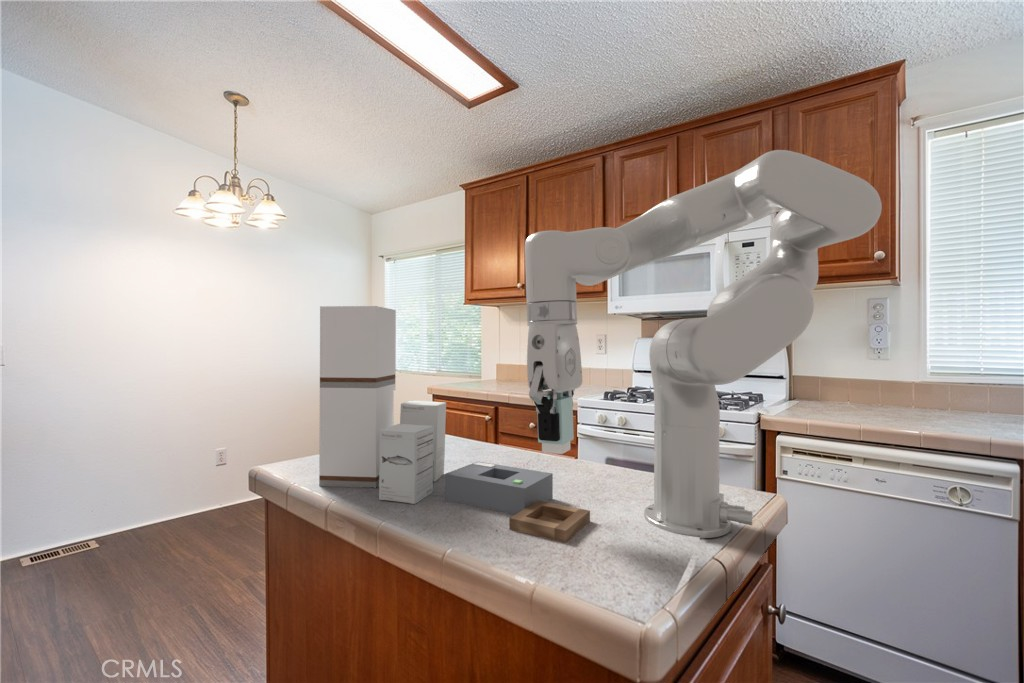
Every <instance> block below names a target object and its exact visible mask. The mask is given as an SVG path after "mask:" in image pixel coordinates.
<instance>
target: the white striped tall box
mask: <svg viewBox="0 0 1024 683" xmlns="http://www.w3.org/2000/svg"><path fill="white" fill-rule="evenodd" d="M396 311H397V310H396V309H393V308H388V307H383V306H377V305H367V306H366V305H355V306H354V305H352V306H351V305H349V306H347V305H341V306H340V305H338V306H337V305H336V306H335V305H334V306H333V305H331V306H330V305H328V306H327V305H326V306H324V305H323V306H319V450H318V452H319V456H318V457H319V465H318V466H319V470H318V471H319V473H318V474H319V476H318V477H319V478H318V479H319V481H318V482H319V487H333V488H337V487H338V488H362V487H374V488H373V489H376V487H377V486H378V485H379V467H380V430H381V429H384V428H387V427H390V426H393V425H394V397H395V396H394V391H396V370H397V369H396V366H397V365H396V359H397V358H396V357H397V356H396V349H397V348H396V339H397V338H396V336H397V333H396V332H397V331H396V326H397V325H396V322H397V319H396V318H397V317H396V316H397V314H396V313H397V312H396ZM378 487H379V486H378ZM378 487H377V488H378Z"/></svg>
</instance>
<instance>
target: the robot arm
mask: <svg viewBox="0 0 1024 683" xmlns="http://www.w3.org/2000/svg"><path fill="white" fill-rule="evenodd" d="M882 205H883V204H882V200H881V196H880V194H879V192H878V191H877V190H876V189H875V187H874V186H873V185H871V183H869V182H868V181H866V180H865V179H863V178H862V177H860V176H858V175H855V174H853V173H851V172H848V171H846V170H844V169H841V168H839V167H836V166H834V165H831V164H829V163H827V162H826V161H825V162H824V161H821V160H820V159H817V158H814V157H812V156H809V155H806V154H803V153H801V152H796V151H791V150H788V149H776V150H775V149H774V150H770V151H767V152H765V153H763V154H762V155H760V156H758V157H756V158H755V159H754V160H752V161H750V162H749V163H747V164H745V165H744V166H742V167H741V168H739V169H737V170H735V171H733V172H732V171H731V172H730V173H728V174H725V175H723V176H720V177H718V178H716V179H713V180H710V181H708V182H705V183H704V184H701V185H698V186H696V187H693V188H691V189H690V188H689V189H688V190H686V191H683V192H680V193H677V194H676V195H673V196H670V197H669V198H667V199H665V200H663V201H661V202H660V203H658V204H656V205H654V206H653V207H651V208H650V209H648V210H647V211H646V212H644V213H642V214H640V215H638V217H636V218H634V219H632V220H630V221H629V222H626V223H624V224H622V225H620V226H618V227H616V228H615V227H610V226H607V227H606V226H602V227H595V228H594V227H593V228H589V229H582V230H575V231H562V230H542V231H537V232H534V233H532V234H530V235H528V237H527V238H526V239H525V243H524V265H525V266H524V267H525V270H524V271H525V291H526V292H525V294H526V295H525V296H526V325H527V326H526V327H528V333H527V346H526V347H527V348H526V353H527V354H526V371H527V372H526V373H527V386H528V389H529V391H528V397H529V398H530V399H531V400H532V401H533V403H534V405H535V412H536V414H537V413H538V423H537V436H538V435H539V439H540V440H545V441H559V440H560V430H559V413H556V407H557V393H561V392H563V396H572V404H573V405H574V401H573V397H574V394H575V391H576V389H578V388H580V387H581V386H582V385H583V368H582V367H583V366H582V356H581V355H582V354H581V346H580V345H581V344H580V338H579V333H578V328H577V325H578V305H577V304H578V302H577V283H578V284H580V285H582V286H587V287H588V286H591V287H592V286H595V285H598V284H601V283H602V282H605V281H607V280H610V279H612V278H614V277H617V276H619V275H622V274H624V273H627V272H629V271H632V270H634V269H636V268H639V267H642V266H644V265H646V264H650V263H651V262H654V261H657V260H661V259H665V258H667V257H672V256H674V255H677V254H680V253H682V252H685V251H687V250H689V249H693V248H695V247H697V246H699V245H701V244H704V243H706V242H707V243H708V242H709V241H712V240H714V239H716V238H719V237H721V236H723V235H725V234H728V233H731V232H733V231H736V230H738V229H740V228H743V227H745V226H748V225H750V224H752V223H755V222H757V221H759V220H761V219H764V218H765V217H767V216H771V215H774V214H775V213H777V214H776V216H775V217H774V219H773V221H772V223H771V226H770V234H769V237H770V239H769V240H770V243H769V244H770V245H769V246H770V248H769V254H768V256H767V257H766V259H764V260H763V261H762V262H760V264H758V265H757V266H755V267H754V268H753V269H751V270H750V271H748V272H747V273H746V274H744V275H743V276H741V277H739V278H738V279H737V280H735V281H734V282H732V283H731V284H729V285H727V286H725V287H724V288H723V289H722V290H719V292H718V293H717V294H716V295H715V296H714V297H713V298H712V300H711V301H710V302H709V305H708V307H707V311H706V316H705V317H691V318H681V319H676V320H673V321H669V322H668V323H665V324H664V325H662V326H661V327H660V328H659V329H658V330H657V331H656V332H655V334H654V336H653V338H652V340H651V342H650V347H649V367H650V373H651V379H652V385H653V403H654V406H653V408H654V411H653V412H654V418H653V419H654V421H653V422H654V423H653V428H654V429H653V445H654V446H653V449H654V450H653V467H654V468H653V470H654V471H653V472H654V473H653V474H654V475H653V480H654V481H653V503H652V504H650V505H648V506H646V507H645V508H644V511H643V516H644V517H643V518H644V519H645V521H646V522H648V523H649V524H650V525H652V526H654V527H656V528H658V529H660V530H663V531H666V532H670V533H673V534H677V535H678V534H680V535H685V536H690V537H691V536H694V537H699V539H714V538H719V537H722V536H725V535H726V534H728V533H730V531H731V530H732V523H731V522H736V523H738V524H741V525H742V524H743V525H748V526H753V519H754V517H753V516H754V515H753V513H754V512H753V511H752V510H746V508H745V506H743V505H742V506H741V505H733V504H728V502H727V501H725V500H724V499H725V494H724V493H720V425H721V424H720V423H721V419H720V418H721V417H720V416H721V412H720V411H721V410H720V403H719V402H720V401H719V396H718V393H717V388H716V386H721V385H728V384H732V383H734V382H737V381H739V380H740V379H742V378H745V377H746V376H747V375H750V373H752V372H753V371H755V370H756V369H757V368H759V367H760V366H762V365H763V364H764V363H766V362H767V361H769V360H770V359H772V358H773V357H774V356H776V355H777V354H778V353H780V352H781V351H783V350H784V349H785V348H786V347H788V346H789V345H790V344H792V343H793V342H795V341H796V340H797V339H799V337H800V336H801V335H802V334H803V333H804V332H805V331H806V329H807V327H808V326H809V324H811V323H810V322H811V320H812V317H813V314H814V307H815V306H814V305H815V304H814V298H813V294H812V292H813V291H814V290H815V288H816V286H817V285H818V281H819V254H818V250H819V249H820V248H823V247H826V246H831V245H835V244H838V243H842V242H845V241H849V240H852V239H855V238H858V237H861V236H863V235H864V234H866V233H867V232H869V231H870V230H871V229H873V228H874V227H875V226H876V224H877V223H878V221H879V219H880V218H881V214H882V209H883V208H882ZM546 396H550V401H549V400H548V398H547V397H546Z"/></svg>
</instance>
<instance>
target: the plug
mask: <svg viewBox="0 0 1024 683" xmlns="http://www.w3.org/2000/svg"><path fill="white" fill-rule="evenodd" d="M546 397H547V398H548V400H549V401H550V396H546ZM572 399H573V397H572V396H563V392H561V393H557V407H556V413H559V430H560V440H559V441H545V440H540V439H539V435H538V434H537V443H540V444H541V452H542V453H546V454H554V455H555V454H556V455H557V454H558V455H564V454H565V453H566V452H568V451H571V448H572V447H571V441H573V440H575V439H574V438H575V437H574V436H575V435H574V433H575V432H574V413H573V412H574V410H573V409H574V408H573V407H574V403H573V404H572ZM536 416H537V419H536V420H537V424H538V413H537V412H536Z"/></svg>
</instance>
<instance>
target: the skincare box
mask: <svg viewBox="0 0 1024 683" xmlns="http://www.w3.org/2000/svg"><path fill="white" fill-rule="evenodd" d="M446 418H447V402H444V401H431V400H430V401H429V400H409V401H405V402H402V403H400V415H399V424H411V425H425V426H434V436H433V481H434V482H433V483H436V482H437V481H438V480H439V479H440V478H441V477H442V476H444V475H445V452H446V449H445V448H446V421H447V420H446Z"/></svg>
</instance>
